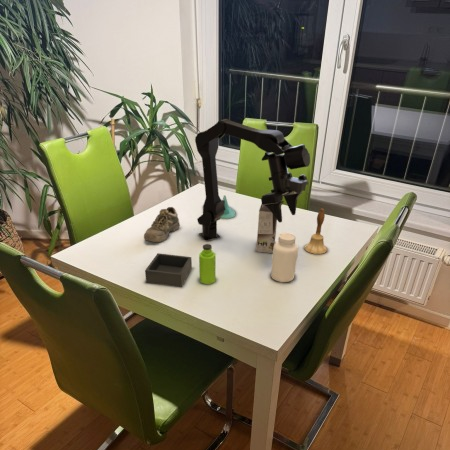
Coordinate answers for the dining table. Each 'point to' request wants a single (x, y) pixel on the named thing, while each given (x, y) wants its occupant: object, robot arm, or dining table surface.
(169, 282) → the tote
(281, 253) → the pill bottle
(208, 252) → the green bottle
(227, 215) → the teal witch hat
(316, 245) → the hand bell
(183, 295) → the dining table surface
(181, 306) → the dining table surface
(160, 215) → the hiking shoe
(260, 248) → the coffee box
